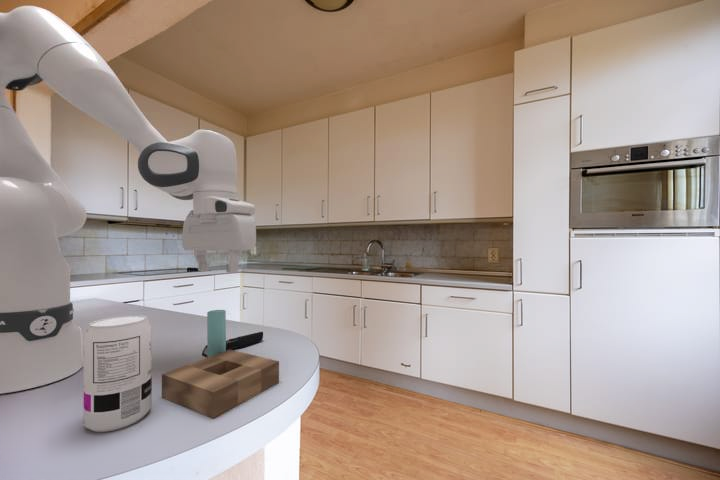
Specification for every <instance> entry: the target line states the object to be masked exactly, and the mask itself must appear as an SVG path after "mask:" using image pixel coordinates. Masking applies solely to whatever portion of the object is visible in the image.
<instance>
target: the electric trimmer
mask: <svg viewBox="0 0 720 480" xmlns="http://www.w3.org/2000/svg"><path fill="white" fill-rule="evenodd" d="M263 339H264V331H259V332H253V333H249V334H245V335H242V336H237V337H233V338H228V339H226V351H227V350H236V349H243V348H246V347H248V346H251V345H252V344H253V345H254V344H256V343H259V342H261V341H263ZM201 356H202V357H204V358H207V344H206V345H205V346H204V349H202V353H201Z"/></svg>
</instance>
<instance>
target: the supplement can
mask: <svg viewBox="0 0 720 480" xmlns="http://www.w3.org/2000/svg"><path fill="white" fill-rule="evenodd" d="M152 333H153V331H152V324H151V323H150V321H149V319H148V316H146V315H142V314H130V315H119V316H118V315H117V316H112V317H106V318H102V319H96V320H95V321H92V322H90V323H89V326H88V327H87V329H86V331H85V332H84V334H83V356H84V366H83V425H84V427H85V428H86V429H89V430H90V431H91V432H92V431H93V432H95V433H105V432H107V433H108V432H111V431H116V430H119V429H123V428H126V427H129V426H131V425H133V424H135V423H137V422H139V420H141V419H143V418H144V417H145V416H146V415H147V414H148V413H149V411H150V410H151V409H152V404H153V403H152V399H153V397H152V395H153V394H152V393H153V391H152V390H153V389H152V388H153V387H152V385H153V384H152V383H153V381H152V378H153V377H152V372H153V371H152V370H153V369H152V368H153V367H152V365H153V364H152V362H153V360H152V358H153V357H152V355H153V354H152V351H153V349H152V344H153V343H152V342H153V341H152V340H153V339H152V338H153V335H152Z"/></svg>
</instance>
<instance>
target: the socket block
mask: <svg viewBox="0 0 720 480" xmlns="http://www.w3.org/2000/svg"><path fill="white" fill-rule="evenodd" d="M279 383H280V360H275V359H272V358H266V357H262V356H259V355H256V354H255V355H253V354H250V353H247V352H241V351H238V350H235V349H232V350H227V351H225V352H222V353H219V354H216V355H213V356H211V357H208V358H206V357H204V358H203V359H200V360H197V361H194V362H192V363H189V364H186V365H183V366H180V367H177V368H174V369H172V370H168V371H165V372H164V373H161V398H164V399H165V400H168V401H170V402H173V403H174V404H175V403H176V404H177V405H180V406H182V407H184V408H188V409H189V410H192V411H195V412H197V413H199V414H202V415H204V416H206V417H209V418H211V419H215V418H217V417H219V416H221V415H224V413H227V412H228V411H230V410H231V409H234V408H235V407H237V406H239V405H240V404H243V403H244V402H246V401H248V400H250V399H251V398H254V397H255V396H257V395H259V394H260V393H262V392H264V391H266V390H267V389H270V388H271V387H274V385H277V384H279Z"/></svg>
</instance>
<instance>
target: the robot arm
mask: <svg viewBox="0 0 720 480" xmlns="http://www.w3.org/2000/svg"><path fill="white" fill-rule="evenodd" d="M42 82H44V83H45V84H46V85H47V86H48V87H49V88H50V89H52V91H54V92H55V93H56V94H58V95H59V96H60V97H61V98H62V99H64V100H65V101H66V102H68V103H69V104H71V105H72V106H73V107H75V108H77V109H78V110H79V111H81V112H82V113H84V114H86V116H87V115H88V116H89V117H91V118H93V119H95V121H98V122H100V123H101V124H103V125H104V126H106V127H108V128H109V129H110V130H112V131H114V132H116V133H117V134H118V135H120V136H121V137H122V138H123V139H125V140H126V141H127V142H128V143H129V144H130V145H131V146H132V147H133V148H135V150H136V151H137V152H138V153H139V157H138V158H137V159H138V160H137V169H138V173H139V174H140V176H141V178H142V179H143V180H144V181H146V183H147V184H149V185H150V186H152V187H154V188H156V189H158V190H161V191H162V192H164V193H167V194H168V195H169V196H171V197H172V198H175V199H178V200H181V201H190V200H191V201H192V209H191V210H190V211H189V213H188V214H187V215H186V219H184V221H183V224H182V236H181V237H182V238H181V243H182V244H181V245H182V248H183V249H184V250H183V251H193V257H194V259H195V261H196V263H197V270H198V271H199V272H208V271H210V262H207V261H208V260H207V257H206V256H207V251H228V256H229V261H228V263H226V265H225V268H226V269H225V270H226V272H227V273H229V274H230V273H237V272H238V271H239V263H240V260H241V258H242V256H243V251H251V250H254V248H255V246H256V245H257V228H256V227H257V226H256V220H255V217H254V214H255V212H256V206H255V205H254V204H252V203H249V202H247V201H243V200H240V199H239V193H238V189H237V185H236V183H237V179H238V159H237V152H236V147H235V144H234V143H233V141H232V140H231V138H230V137H228V136H227V135H225V134H223V133H221V132H219V131H215V130H212V129H207V128H206V129H205V128H204V129H203V128H202V129H196V130H195V131H193V133H192V134H190V135H188V136H185V137H183V138H180V139H176V140H171V141H168V140H167V139H166V138H165V137H164V136H163V134H161V132H159V131H158V129H156V128H155V127H154V125H152V123H151V122H149V120H148V119H147V118H146V116H145V115H144V114H143V112H142V111H141V110H140V108H139V107H138V105H137V103H136V101H134V100H133V98H132V96H131V95H130V94H129V92H128V91H127V89H126V88H125V86H124V85H123V83H122V82H121V80H120V79H119V77H118V76H117V75H116V73H115V72H114V70H113V69H112V68H111V66H109V64H108V63H107V61H105V59H104V58H103V57H102V56H101V54H99V53H98V51H97V50H96V49H95V48H94V47H93V46H92V45H91V44H90V43H89V42H88V41H87V40H86V38H83V36H82V35H81V34H80V33H79V32H77V31H76V30H75V29H74V28H72V26H70V25H69V24H68V23H67V22H65V21H64V20H62V19H61V18H60V17H59V16H58V15H56V14H54V13H53V12H51V11H49V10H48V9H45V8H42V7H40V6H35V5H21V6H18V7H15V8H14V9H12V10H11V11H10V10H9V12H0V394H7V393H14V392H20V391H24V390H25V391H26V390H28V389H33V388H37V387H38V388H39V387H41V386H45V385H48V384H51V383H54V382H58V381H60V380H62V379H65V378H67V377H70V376H72V375H74V374H75V373H77V372H79V370H81V368H84V342H83V332H82V331H83V330H82V328H81V327H80V326H78V325H76V324H75V323H73V321H72V320H73V319H74V313H75V310H74V309H75V308H74V306H73V305H74V304H73V302H71V267H70V264H69V263H68V261H66V259H65V258H64V256H63V255H64V254H63V253H62V249H61V247H60V243H59V240H58V238H62V237H65V236H69V235H71V234H74V233H76V232H79V230H80V229H82V228H83V226H84V225H85V223H86V221H87V216H88V215H87V214H88V213H87V209H86V207H85V206H84V204H83V203H82V202H81V201H80V200H79V199H78V198H77V197H76V196H75V195H74V194H73V193H72V191H71V190H70V189H69V188H68V186H67V185H66V184H65V183H64V181H63V180H62V178H61V177H60V176H59V175H58V174H57V172H56V171H55V170H54V169H53V168H52V166H51V165H50V163H48V161H46V159H45V158H44V156H43V155H42V154H41V153H40V151H39V150H38V148H37V146H36V145H35V144H34V141H32V138H31V137H30V135H29V133H28V131H27V130H26V128H25V127H24V125H23V123H22V121H21V120H20V118H19V117H18V115H17V113H16V111H15V110H14V108H13V106H12V104H11V103H10V101H9V100H8V97H7V95H6V90H8V91H15V92H16V91H17V92H18V91H24V90H25V89H26V88H27V87H31V86H35V85H38V84H40V83H42Z"/></svg>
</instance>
